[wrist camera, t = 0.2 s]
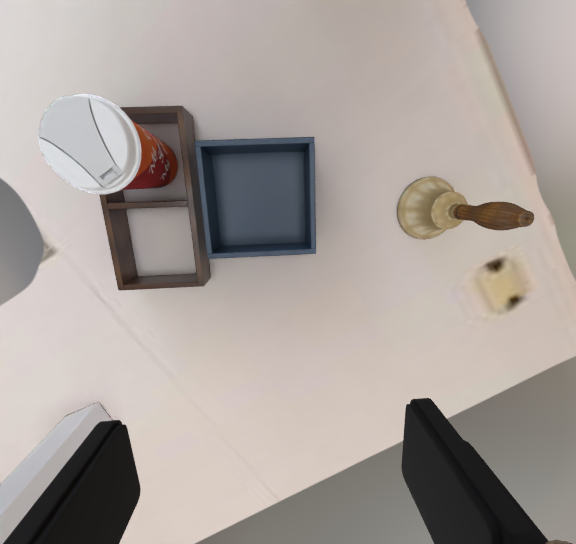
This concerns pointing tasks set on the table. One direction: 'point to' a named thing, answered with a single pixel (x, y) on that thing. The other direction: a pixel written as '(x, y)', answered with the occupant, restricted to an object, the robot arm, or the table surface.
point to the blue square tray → (257, 196)
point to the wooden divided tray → (117, 208)
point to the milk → (44, 465)
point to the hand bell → (452, 210)
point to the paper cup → (102, 147)
